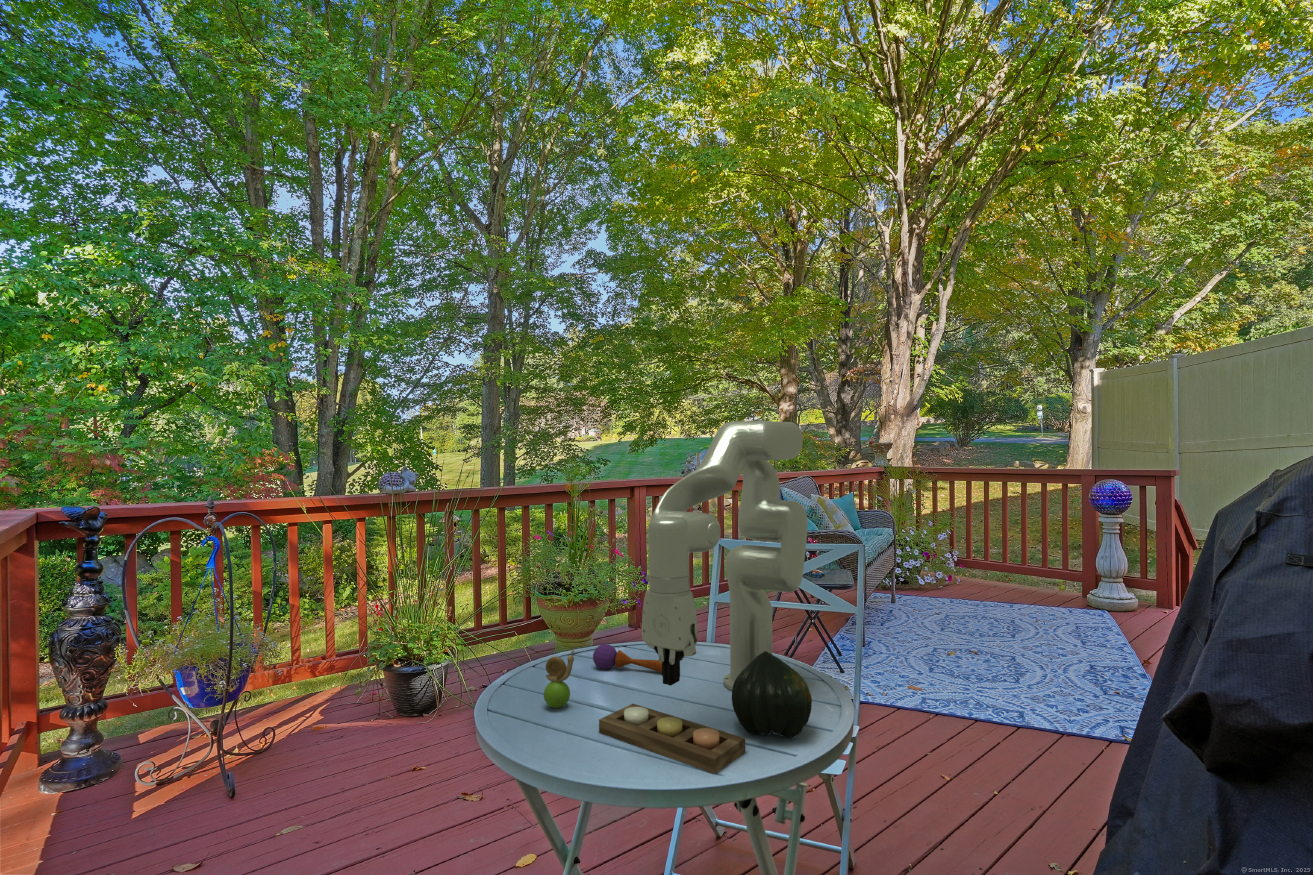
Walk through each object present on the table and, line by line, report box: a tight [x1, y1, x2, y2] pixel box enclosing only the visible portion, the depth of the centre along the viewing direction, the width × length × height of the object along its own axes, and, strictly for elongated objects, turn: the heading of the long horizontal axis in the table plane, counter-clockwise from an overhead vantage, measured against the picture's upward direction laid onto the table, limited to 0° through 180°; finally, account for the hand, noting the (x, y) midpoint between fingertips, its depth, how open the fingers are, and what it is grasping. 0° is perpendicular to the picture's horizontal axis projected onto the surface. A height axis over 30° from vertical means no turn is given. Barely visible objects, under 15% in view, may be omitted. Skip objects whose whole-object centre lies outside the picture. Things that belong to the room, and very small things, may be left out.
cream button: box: [624, 706, 648, 726], centre depth 126 cm, size 5×5×2 cm
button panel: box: [598, 703, 746, 775], centre depth 121 cm, size 10×26×2 cm, turn 52°
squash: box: [731, 651, 813, 739], centre depth 127 cm, size 14×15×15 cm
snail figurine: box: [543, 649, 575, 709], centre depth 138 cm, size 5×6×12 cm
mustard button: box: [657, 716, 682, 737], centre depth 121 cm, size 5×5×2 cm
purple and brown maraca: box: [592, 643, 662, 674], centre depth 160 cm, size 6×6×20 cm
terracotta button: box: [693, 728, 719, 750], centre depth 116 cm, size 5×5×2 cm
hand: (671, 682), depth 123 cm, fingers closed
